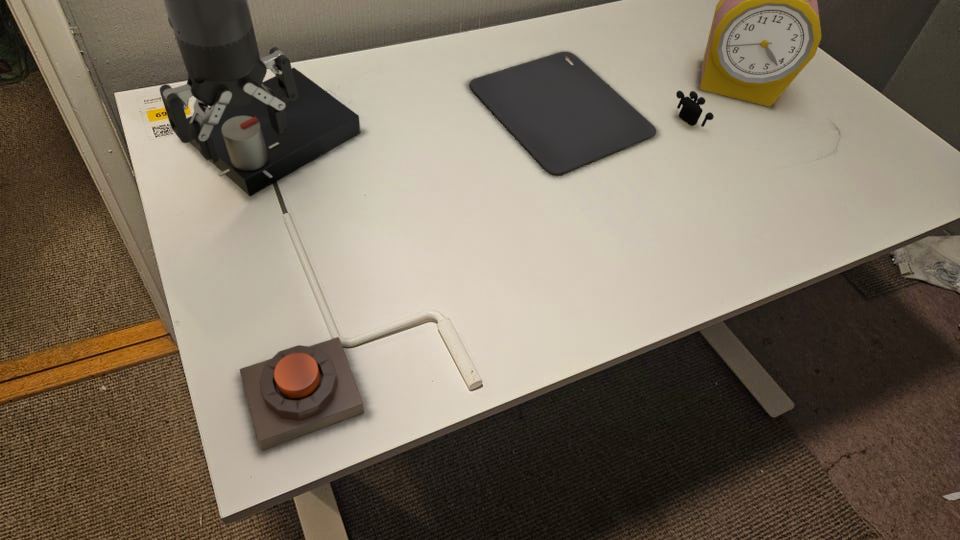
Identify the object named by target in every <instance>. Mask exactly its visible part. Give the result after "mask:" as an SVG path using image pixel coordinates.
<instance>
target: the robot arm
mask: <svg viewBox="0 0 960 540" xmlns="http://www.w3.org/2000/svg"><path fill="white" fill-rule="evenodd" d="M163 4H164V8H165V12H166V14H167V20H168V24H169V26H170V27H171V29H172V31H173V34H174V37H175V40H176V43H177V46H178V48H179V52H180V55H181V58H182V62H183V64H184V66H185V70H186V73H187V81H186V84H182V85H179V86H177V87H173V88H172V86H170V85H169V84H162V85H161V86H160V87H159V94H160V97H161V100H162V103H163V106H164V109H165V112H166V116H167V119H168V123H169V126H170V128H171V130H172V131H173V133H174V134H175V135H176V136H177V137H178V139H179V140H180V141H181V142H182V143H184V144H188V143H189V142H190V141H191V140H195V142H196V144H197V147H198V150H199V151H198V150H197V151H198V152H199V153H200V155H201V156H202V157H203V158H204V159H205V160H206V161H207V162H208V161H209V160H211V161H212V162H213V163H215V162H217V161H219V158H218V155H217V152H216V149H215V147H214V144H213V141H212V138H211V137H210V134H211V131H212V129H213V127H214V125H218V123H219V121H220V118H221V116H222V114H223V112H224V111H225V112H226V113H228V112H231V111H233V110H235V109H236V108H238V107H241V106H247V105H249V104H252V101H253V100H254V99H255V98H257V99H258V100H260V101H262V102H263V103H265V104H266V106H267V110H268V115H269V119H270V123H271V126H272V128H273V130H274V131H275V132H276V133H277V134H278V135H279V136H280V135H282V134H285V131H284V129H285V128H287V120H286V115H285V110H284V108H285V106H286V105H285V104H286V103H287V102H289V101H295V100H296V99H297V98H298V92H297V88H296V84H295V80H294V76H293V72H292V68H293V67H292V63H291V61H290V59H289V58H288V57H287V55H285V53H284V52H283V51H282V50H280V48H279V47H277V46H273V47H271V48H270V49H269V53H268V55H266V56H262V57H260V56H261V55H260V50H259V45H258V42H257V37H256V33H255V28H254V24H253V20H252V14H251V11H250V7H249V5H250V4H249V2H248V0H163ZM268 70H270V71H271V72H272V73H273V74H274V75H275V76H276V79H277V83H278V86H279V88H278V89H277V90H276V91H272V90H271V89H269V88H268V87H266V86H265V85H263V84H262V82H264V81H265V78H266V76H267V73H268ZM275 76H274V77H275ZM192 97H193V98H195V101H194V104H193V113H192V115H191V116H192V118H191V120H190V123H188V121H187V118H188V117H187V115H186V111H185V110H188V109H189V100H190V99H191V98H192ZM210 107H211V109H209V108H210ZM211 161H210V162H211ZM212 162H211V163H212ZM213 163H212V164H213Z"/></svg>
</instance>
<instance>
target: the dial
mask: <svg viewBox="0 0 960 540" xmlns="http://www.w3.org/2000/svg"><path fill="white" fill-rule="evenodd" d="M221 131H222V134H223V138H224V141H225V144H226V147H227V150H228V154H229V157H230V160H231V163H232V165H233V166H234V167H235V168H236V169H238V170H241V171H255V170H258V169H260V168H262V167H263V166H264V165H265V164H266V163H267V161H268V154H267V150H266V146H265V141H264V137H263V133H262V129H261V125H260V123H259V121H258V119H257V118H256V117H250V116H236V117H233V118H230V119H229V120H227V121H226V122H225V123H224V124H223V126H222V129H221Z"/></svg>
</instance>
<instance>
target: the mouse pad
mask: <svg viewBox="0 0 960 540" xmlns="http://www.w3.org/2000/svg"><path fill="white" fill-rule="evenodd" d="M469 88H470V90H471V91H472V92H473V93H474V94H475V95H476V96H477V97H478V99H480V101H481V102H482V103H483V104H484V105H485V106H486V107H487V108H488V109H489V110H490V112H491V113H492V114H493V115H494V116H495V117H496V118H497V119H498V121H500V122H501V124H502V125H503V126H504V127H505V128H506V129H507V130H508V131H509V132H510V134H512V136H513V137H514V138H515V139H516V140H517V141H518V142H519V143H520V144H521V145H522V147H524V148H525V150H526V151H527V152H529V154H530V155H531V156H532V157H533V158H534V159H535V160H536V162H538V163H539V165H540V166H541V167H542V168H543V169H544V170H545V171H546V172H548V173H550V174H552V175H563V174H567V173H568V172H571V171H574V170H576V169H578V168H581V167H584V166H585V165H587V164H590V163H593V162H596V161H598V160H600V159H603V158H606V157H608V156H610V155H613V154H615V153H617V152H620V151H623V150H625V149H627V148H630V147H632V146H635V145H637V144H639V143H642V142H644V141H647V140H650V139H651V138H654V137H655V136H656V134H657V129H656V127H655V126H654V125H653V123H651V122H650V121H649V120H648V119H647V118H646V117H645V116H643V115H642V114H641V113H640V112H639V111H638V110H637V109H636V108H635V107H634V106H632V105H631V104H630V103H629V102H628V101H627V100H626V99H625V98H624V97H622V96H621V95H620V93H618V92H617V91H616V90H615V89H614V88H612V86H610V85H609V84H608V83H607V82H606V81H605V80H604V79H602V78H601V76H599V75H598V74H597V73H596V72H595V71H594V70H592V69H591V68H590V67H589V66H588V65H587V64H586V63H584V62H583V61H582V59H580V58H579V57H578V56H577V55H576V54H574V53H573V52H570V51H560V52H556V53H553V54H550V55H547V56H543V57H540V58H537V59H534V60H530V61H527V62H524V63H519V64H517V65H514V66H511V67H507V68H504V69H500V70H498V71H494V72H492V73H488V74H485V75H482V76H478V77H476V78H473V79H471V80H470V82H469Z"/></svg>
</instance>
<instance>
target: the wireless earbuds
mask: <svg viewBox="0 0 960 540" xmlns="http://www.w3.org/2000/svg"><path fill="white" fill-rule="evenodd" d="M675 95H676V98H677V99H679V102H678V104H677V106H676V108H677V109H678V110H679V109H680V111H679V113H678V117H679V119H680V120H682V121H683V122H684V123H686V124H687V125H688V126H690V127H693V126H696V125H697V123H698V121H699V119H700V118H701V116H702V113H703V108H702V107H701V106H703V105H705V103H706V98H705V97H703V96H699V95H698V93H697V92H696V91H695V90H691V91H690V92H689V94H688V96H685V93H684V92H683V91H682V90H677V91H676V93H675ZM714 118H715V116H714V113H713V112H711V111H709V112H707V113H706V114H705V115H704V119H703V121H702V123H701V128H704V127H705V125H706V123H707V121H712V120H714Z"/></svg>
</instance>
